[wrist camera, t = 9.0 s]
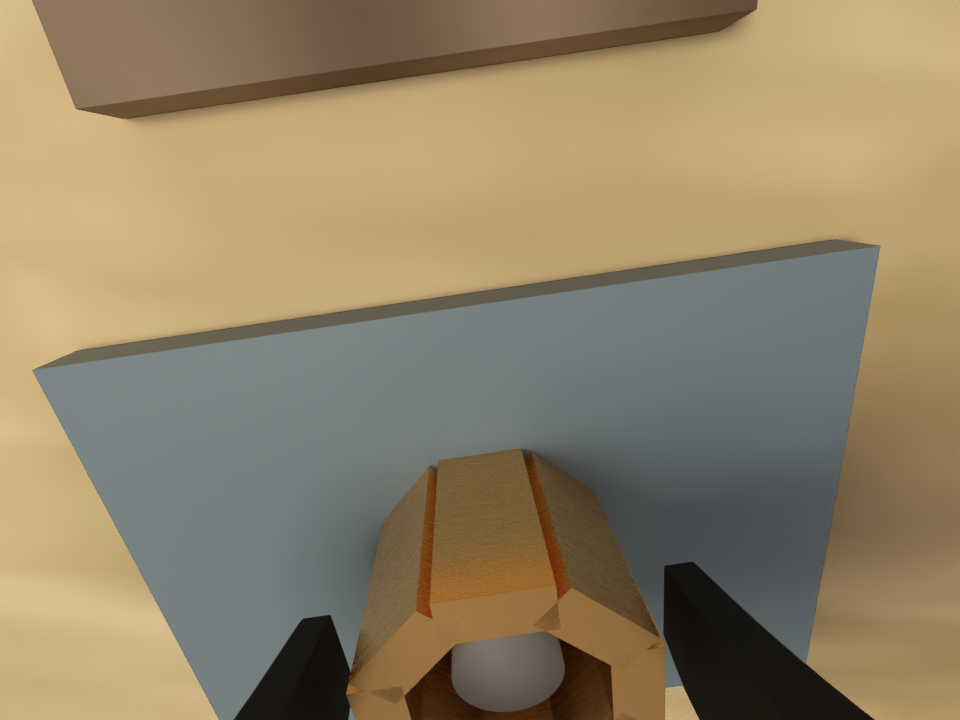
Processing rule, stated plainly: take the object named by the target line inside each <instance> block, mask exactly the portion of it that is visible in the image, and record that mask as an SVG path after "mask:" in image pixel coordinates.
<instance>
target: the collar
mask: <svg viewBox="0 0 960 720" xmlns="http://www.w3.org/2000/svg"><path fill="white" fill-rule="evenodd" d="M542 631H546V632H548V633H550V634H552V635H554V636H556V637H558V638H559V643H560V647H561V651H562V656H563V660H564V665H565V673H564V677H563V680H562V682H561V684H560V686H559V687H558V689H557V690H556V691H555V692H554V693H553V694H552V695H551V696H550V697H548V698H547V699H546V700H544V701H543V702H541V703H539V704H537V705H535V706H532V707H530V708H526V709H523V710H518V711H512V712H493V711H487V710H483V709H480V708H477V707H475V706H473V705H471V704H469V703H467V702H466V701H464V700H463V699H462V698H461V697H460V696H459V695H458V693H457V692H456V690H455V689H454V686H453V683H452V647H453V646H454V645H455V644H461V643H468V642H474V641H481V640H488V639H495V638H501V637H508V636H515V635H522V634H528V633H535V632H542ZM665 675H666V646H665V644H664V642H663V640H662V638H661V635H660V633H659V631H658V629H657V627H656V625H655V622H654V620H653V618H652V616H651V614H650V611H649V609H648V607H647V605H646V603H645V601H644V598H643V596H642V594H641V592H640V590H639V588H638V585H637V583H636V581H635V579H634V577H633V574H632V572H631V570H630V568H629V566H628V564H627V561H626V559H625V557H624V555H623V553H622V550H621V548H620V546H619V544H618V542H617V540H616V537H615V535H614V533H613V531H612V529H611V527H610V524H609V522H608V520H607V518H606V516H605V513H604V511H603V509H602V507H601V505H600V503H599V500H598V498H597V497H596V496H595V494H594V492H593V490H592V489H590V488H589V487H587V486H586V485H584V484H583V483H581V482H580V481H578V480H577V479H575V478H573V477H572V476H570V475H569V474H567V473H566V472H564V471H563V470H561V469H560V468H558V467H556V466H555V465H553V464H552V463H550V462H549V461H547V460H546V459H544V458H543V457H541V456H540V455H538V454H536V453H535V452H533V451H532V450H531V451H530V452H529V453H528V455H527V456H526V457H525V458H523V454H522V450H521V448H519V449H512V450H506V451H499V452H492V453H485V454H479V455H472V456H465V457H459V458H452V459H445V460H438V470H436V469H434V468H433V467H431V466H428V467H427V469H426V470H425V471H424V472H423V473H422V475H421V476H420V477H419V478H418V480H417V481H416V482H415V483H414V484H413V486H412V487H411V488H410V489H409V490H408V492H407V493H406V494H405V495H404V497H403V498H402V499H401V500H400V501H399V503H398V504H397V505H396V506H395V508H394V509H393V510H392V511H391V512H390V514H389V515H388V516H387V517H386V518H385V520H384V521H383V525H382V529H381V534H380V539H379V543H378V548H377V553H376V557H375V562H374V566H373V571H372V576H371V580H370V585H369V590H368V594H367V599H366V604H365V608H364V613H363V618H362V622H361V627H360V632H359V636H358V641H357V646H356V650H355V655H354V660H353V664H352V669H351V674H350V678H349V683H348V688H347V692H346V696H347V698H348V701H349V704H350V707H351V709H352V712H353V715H354V717H355V720H665Z"/></svg>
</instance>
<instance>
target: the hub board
mask: <svg viewBox="0 0 960 720" xmlns="http://www.w3.org/2000/svg"><path fill="white" fill-rule="evenodd" d="M879 251H880V246H879V245H871V244H864V243H857V242H849V241H842V240H830V241H823V242H816V243H809V244H802V245H796V246H789V247H782V248H775V249H768V250H762V251H755V252H748V253H741V254H734V255H727V256H721V257H714V258H707V259H700V260H693V261H687V262H680V263H673V264H666V265H659V266H652V267H646V268H639V269H632V270H625V271H618V272H612V273H605V274H598V275H591V276H584V277H577V278H571V279H564V280H557V281H550V282H543V283H537V284H530V285H523V286H516V287H509V288H502V289H496V290H489V291H482V292H475V293H468V294H462V295H455V296H448V297H441V298H434V299H427V300H421V301H414V302H407V303H400V304H393V305H387V306H380V307H373V308H366V309H359V310H352V311H346V312H339V313H332V314H325V315H318V316H312V317H305V318H298V319H291V320H284V321H277V322H271V323H264V324H257V325H250V326H243V327H237V328H230V329H223V330H216V331H209V332H202V333H196V334H189V335H182V336H175V337H168V338H162V339H155V340H148V341H141V342H134V343H127V344H121V345H114V346H107V347H100V348H93V349H87V350H80V351H75V352H73V353H71V354H68V355H66V356H64V357H62V358H59V359H57V360H55V361H52V362H50V363H48V364H45V365H43V366H41V367H38V368H36V369H34V370H32V371H33V373H34V374H35V376H36V378H37V380H38V382H39V384H40V386H41V388H42V389H43V391H44V393H45V395H46V397H47V399H48V401H49V402H50V404H51V406H52V408H53V410H54V412H55V414H56V416H57V417H58V419H59V421H60V423H61V425H62V427H63V429H64V431H65V432H66V434H67V436H68V438H69V440H70V442H71V444H72V446H73V447H74V449H75V451H76V453H77V455H78V457H79V459H80V460H81V462H82V464H83V466H84V468H85V470H86V472H87V474H88V475H89V477H90V479H91V481H92V483H93V485H94V487H95V489H96V490H97V492H98V494H99V496H100V498H101V500H102V502H103V503H104V505H105V507H106V509H107V511H108V513H109V515H110V517H111V518H112V520H113V522H114V524H115V526H116V528H117V530H118V532H119V533H120V535H121V537H122V539H123V541H124V543H125V545H126V547H127V548H128V550H129V552H130V554H131V556H132V558H133V560H134V561H135V563H136V565H137V567H138V569H139V571H140V573H141V575H142V576H143V578H144V580H145V582H146V584H147V586H148V588H149V590H150V591H151V593H152V595H153V597H154V599H155V601H156V603H157V605H158V606H159V608H160V610H161V612H162V614H163V616H164V618H165V619H166V621H167V623H168V625H169V627H170V629H171V631H172V633H173V634H174V636H175V638H176V640H177V642H178V644H179V646H180V648H181V649H182V651H183V653H184V655H185V657H186V659H187V661H188V662H189V664H190V666H191V668H192V670H193V672H194V674H195V676H196V677H197V679H198V681H199V683H200V685H201V687H202V689H203V691H204V692H205V694H206V696H207V698H208V700H209V702H210V704H211V706H212V707H213V709H214V711H215V713H216V715H217V717H218V719H219V720H234V718H235V717H236V715H237V714H238V712H239V711H240V710H241V708H242V707H243V705H244V704H245V702H246V701H247V700H248V698H249V697H250V695H251V694H252V692H253V691H254V689H255V688H256V687H257V685H258V684H259V682H260V681H261V679H262V678H263V676H264V675H265V673H266V672H267V670H268V669H269V667H270V666H271V664H272V663H273V661H274V660H275V658H276V657H277V655H278V654H279V652H280V651H281V649H282V648H283V646H284V645H285V643H286V642H287V640H288V639H289V637H290V636H291V634H292V633H293V631H294V630H295V628H296V627H297V625H298V624H299V622H300V621H301V620H302V619H304V618H310V617H317V616H324V615H331V617H332V620H333V623H334V626H335V628H336V631H337V634H338V637H339V640H340V643H341V646H342V648H343V651H344V654H345V657H346V660H347V663H348V666H349V668H350V671H351V669H352V664H353V660H354V655H355V650H356V646H357V641H358V636H359V632H360V627H361V622H362V618H363V613H364V608H365V604H366V599H367V594H368V590H369V585H370V580H371V576H372V571H373V566H374V562H375V557H376V553H377V548H378V543H379V539H380V534H381V529H382V525H383V521H384V520H385V518H386V517H387V516H388V515H389V514H390V512H391V511H392V510H393V509H394V508H395V506H396V505H397V504H398V503H399V501H400V500H401V499H402V498H403V497H404V495H405V494H406V493H407V492H408V490H409V489H410V488H411V487H412V486H413V484H414V483H415V482H416V481H417V480H418V478H419V477H420V476H421V475H422V473H423V472H424V471H425V470H426V469H427V467H428V466H431V467H433V468H434V469H436V470H438V460H445V459H452V458H459V457H465V456H472V455H479V454H485V453H492V452H499V451H506V450H512V449H519V448H521V450H522V454H523V458H525V457H526V456H527V455H528V453H529V452H530V451H531V450H532V451H533V452H535V453H536V454H538V455H540V456H541V457H543V458H544V459H546V460H547V461H549V462H550V463H552V464H553V465H555V466H556V467H558V468H560V469H561V470H563V471H564V472H566V473H567V474H569V475H570V476H572V477H573V478H575V479H577V480H578V481H580V482H581V483H583V484H584V485H586V486H587V487H589V488H590V489H592V490H593V492H594V494H595V496H596V497H597V498H598V500H599V503H600V505H601V507H602V509H603V511H604V513H605V516H606V518H607V520H608V522H609V524H610V527H611V529H612V531H613V533H614V535H615V537H616V540H617V542H618V544H619V546H620V548H621V550H622V553H623V555H624V557H625V559H626V561H627V564H628V566H629V568H630V570H631V572H632V574H633V577H634V579H635V581H636V583H637V585H638V588H639V590H640V592H641V594H642V596H643V598H644V601H645V603H646V605H647V607H648V609H649V611H650V614H651V616H652V618H653V620H654V622H655V625H656V627H657V629H658V631H659V633H660V635H661V638H662V640H663V642H664V644H665V646H666V675H665V688H668V687H674V686H681V685H683V684H682V681H681V679H680V676H679V674H678V671H677V669H676V666H675V664H674V661H673V658H672V656H671V653H670V650H669V648H668V645H667V642H666V640H665V637H664V634H663V618H664V566H666V565H672V564H679V563H686V562H694V563H695V564H696V565H698V566H699V567H700V568H701V569H702V570H703V571H704V572H705V573H706V574H707V575H708V576H709V577H710V578H711V579H712V580H713V581H714V582H715V583H717V584H718V585H719V586H720V587H721V588H722V589H723V590H724V591H725V592H726V593H727V594H728V595H729V596H730V597H731V598H732V599H733V600H735V601H736V602H737V603H738V604H739V605H740V606H741V607H742V608H743V609H744V610H745V611H746V612H748V613H749V614H750V615H751V616H752V617H753V618H754V619H755V620H756V621H757V622H758V623H760V624H761V625H762V626H763V627H764V628H765V629H766V630H767V631H768V632H770V633H771V634H772V635H773V636H774V637H775V638H776V639H778V640H779V641H780V642H781V643H782V644H783V645H785V646H786V647H787V648H788V649H789V650H790V651H791V652H793V653H794V654H795V655H796V656H797V657H798V658H799V659H801V660H802V661H803V662H804V663H805V664H806V660H807V655H808V649H809V643H810V638H811V632H812V627H813V621H814V615H815V610H816V604H817V599H818V593H819V587H820V582H821V576H822V571H823V565H824V559H825V554H826V548H827V543H828V537H829V531H830V526H831V520H832V515H833V509H834V503H835V498H836V492H837V487H838V481H839V475H840V470H841V464H842V459H843V453H844V447H845V442H846V436H847V431H848V425H849V419H850V414H851V408H852V403H853V397H854V391H855V386H856V380H857V375H858V369H859V363H860V358H861V352H862V346H863V341H864V335H865V330H866V324H867V318H868V313H869V307H870V302H871V296H872V290H873V285H874V279H875V274H876V268H877V262H878V257H879ZM564 673H565V665H564V660H563V656H562V651H561V647H560V643H559V638H558V637H556V636H554V635H552V634H550V633H548V632H546V631H542V632H535V633H528V634H522V635H515V636H508V637H501V638H495V639H488V640H481V641H474V642H468V643H461V644H455V645H454V646H453V647H452V683H453V686H454V689H455V690H456V692H457V693H458V695H459V696H460V697H461V698H462V699H463V700H464V701H466V702H467V703H469V704H471V705H473V706H475V707H477V708H480V709H483V710H487V711H493V712H512V711H518V710H523V709H526V708H530V707H532V706H535V705H537V704H539V703H541V702H543V701H544V700H546V699H547V698H548V697H550V696H551V695H552V694H553V693H554V692H555V691H556V690H557V689H558V687H559V686H560V684H561V682H562V680H563V677H564ZM349 720H355V717H354V715H353V712H352V709H351V707H350V713H349Z"/></svg>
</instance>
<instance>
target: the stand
mask: <svg viewBox="0 0 960 720" xmlns="http://www.w3.org/2000/svg"><path fill="white" fill-rule="evenodd" d="M32 2H33V4H34V7H35V9H36V11H37V14H38V16H39V19H40V21H41V24H42V26H43V29H44V31H45V34H46V36H47V39H48V41H49V44H50V46H51V48H52V51H53V53H54V56H55V58H56V61H57V63H58V66H59V68H60V71H61V73H62V76H63V78H64V81H65V83H66V85H67V88H68V90H69V93H70V95H71V98H72V100H73V103H74V105H75V108H76V109H78V110H83V111H88V112H93V113H98V114H102V115H107V116H112V117H117V118H122V119H125V118H132V117H138V116H145V115H152V114H159V113H166V112H172V111H179V110H186V109H193V108H200V107H206V106H213V105H220V104H227V103H234V102H240V101H247V100H254V99H261V98H268V97H275V96H281V95H288V94H295V93H302V92H309V91H315V90H322V89H329V88H336V87H343V86H349V85H356V84H363V83H370V82H377V81H383V80H390V79H397V78H404V77H411V76H418V75H424V74H431V73H438V72H445V71H452V70H458V69H465V68H472V67H479V66H486V65H492V64H499V63H506V62H513V61H520V60H526V59H533V58H540V57H547V56H554V55H560V54H567V53H574V52H581V51H588V50H595V49H601V48H608V47H615V46H622V45H629V44H635V43H642V42H649V41H656V40H663V39H669V38H676V37H683V36H690V35H697V34H703V33H710V32H717V31H721V30H722V29H724V28H726V27H727V26H729V25H731V24H732V23H734V22H736V21H737V20H739V19H741V18H743V17H744V16H746V15H748V14H749V13H751V12H753V11H754V10H756V9H757V0H32Z"/></svg>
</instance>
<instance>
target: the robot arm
mask: <svg viewBox="0 0 960 720" xmlns="http://www.w3.org/2000/svg"><path fill="white" fill-rule="evenodd" d="M663 634H664V637H665V640H666V642H667V645H668V648H669V650H670V653H671V656H672V658H673V661H674V664H675V666H676V669H677V671H678V674H679V676H680V679H681V681H682V684H683V686H684V689H685V691H686V693H687V695H688V697H689V699H690V701H691V703H692V705H693V707H694V709H695V711H696V713H697V715H698V717H699V719H700V720H874V719H873V718H872V717H870V716H869V715H868V714H867V713H865V712H864V711H863V710H861V709H860V708H859V707H858V706H856V705H855V704H854V703H853V702H851V701H850V700H849V699H848V698H847V697H845V696H844V695H843V694H842V693H840V692H839V691H838V690H837V689H835V688H834V687H833V686H832V685H830V684H829V683H828V682H827V681H826V680H824V679H823V678H822V677H821V676H820V675H818V674H817V673H816V672H815V671H814V670H812V669H811V668H810V667H809V666H808V665H806V664H805V663H804V662H803V661H802V660H801V659H799V658H798V657H797V656H796V655H795V654H794V653H793V652H791V651H790V650H789V649H788V648H787V647H786V646H785V645H783V644H782V643H781V642H780V641H779V640H778V639H776V638H775V637H774V636H773V635H772V634H771V633H770V632H768V631H767V630H766V629H765V628H764V627H763V626H762V625H761V624H760V623H758V622H757V621H756V620H755V619H754V618H753V617H752V616H751V615H750V614H749V613H748V612H746V611H745V610H744V609H743V608H742V607H741V606H740V605H739V604H738V603H737V602H736V601H735V600H733V599H732V598H731V597H730V596H729V595H728V594H727V593H726V592H725V591H724V590H723V589H722V588H721V587H720V586H719V585H718V584H717V583H715V582H714V581H713V580H712V579H711V578H710V577H709V576H708V575H707V574H706V573H705V572H704V571H703V570H702V569H701V568H700V567H699V566H698V565H696V564H695V563H694V562H686V563H679V564H672V565H666V566H664V618H663ZM350 674H351V671H350V668H349V666H348V663H347V660H346V657H345V654H344V651H343V648H342V646H341V643H340V640H339V637H338V634H337V631H336V628H335V626H334V623H333V620H332V617H331V615H324V616H317V617H310V618H304V619H302V620H301V621H300V622H299V624H298V625H297V627H296V628H295V630H294V631H293V633H292V634H291V636H290V637H289V639H288V640H287V642H286V643H285V645H284V646H283V648H282V649H281V651H280V652H279V654H278V655H277V657H276V658H275V660H274V661H273V663H272V664H271V666H270V667H269V669H268V670H267V672H266V673H265V675H264V676H263V678H262V679H261V681H260V682H259V684H258V685H257V687H256V688H255V689H254V691H253V692H252V694H251V695H250V697H249V698H248V700H247V701H246V702H245V704H244V705H243V707H242V708H241V710H240V711H239V712H238V714H237V715H236V717H235V718H234V720H349V713H350V704H349V701H348V698H347V696H346V692H347V688H348V683H349V678H350Z"/></svg>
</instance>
